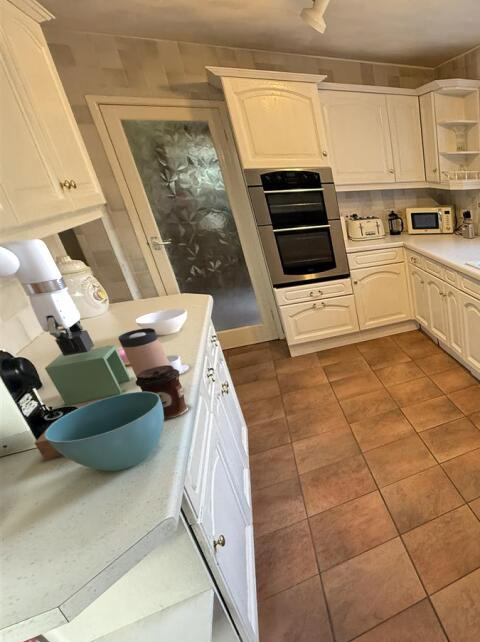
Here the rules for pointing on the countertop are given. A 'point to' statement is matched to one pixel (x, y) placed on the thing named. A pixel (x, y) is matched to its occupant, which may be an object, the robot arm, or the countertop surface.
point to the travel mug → (143, 349)
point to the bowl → (163, 321)
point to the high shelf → (88, 374)
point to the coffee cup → (164, 388)
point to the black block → (79, 342)
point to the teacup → (177, 363)
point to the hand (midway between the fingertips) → (77, 347)
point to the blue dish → (110, 431)
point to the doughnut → (124, 357)
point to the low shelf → (47, 448)
